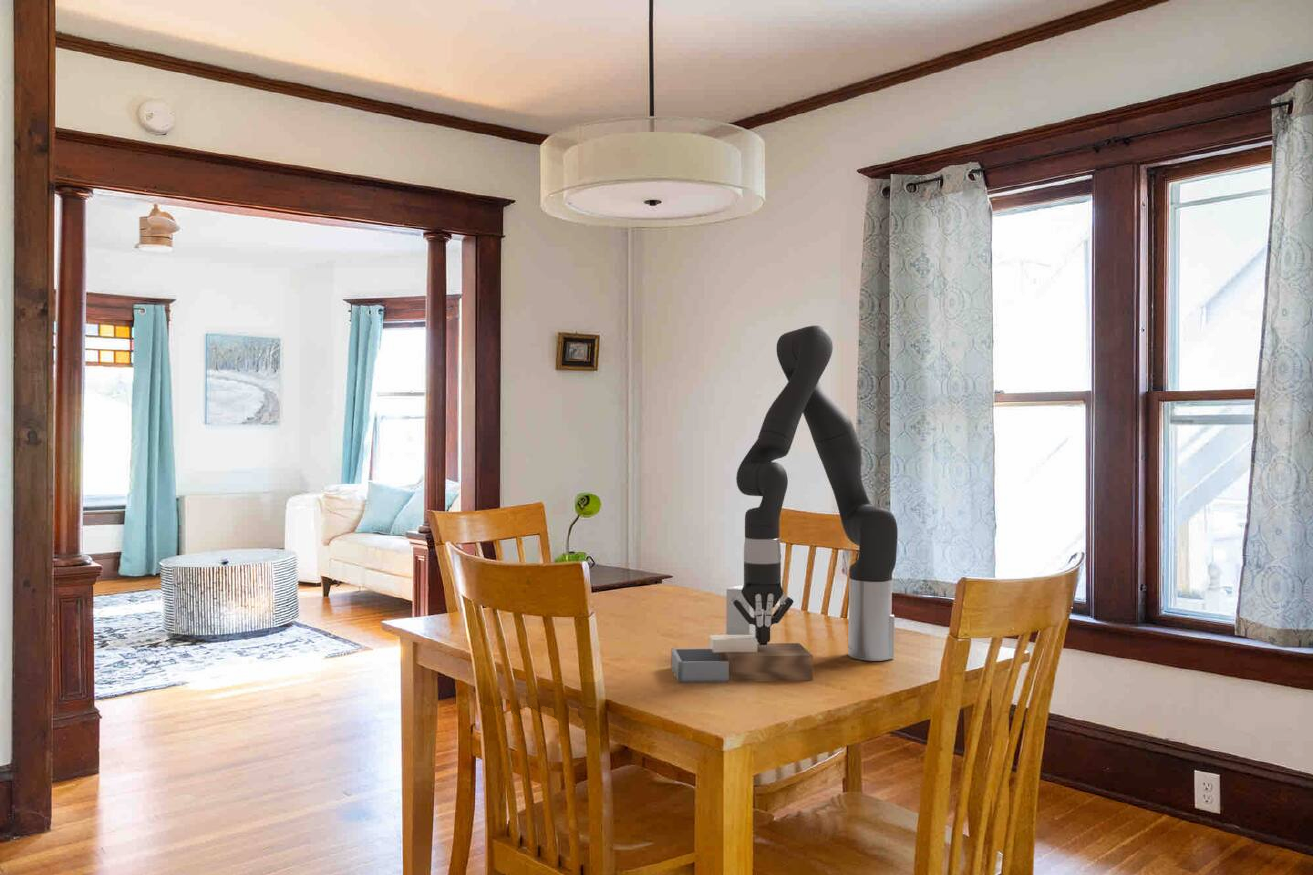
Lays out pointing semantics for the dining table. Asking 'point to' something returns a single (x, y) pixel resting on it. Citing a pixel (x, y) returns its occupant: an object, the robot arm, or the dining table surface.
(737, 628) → the skincare box
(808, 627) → the dining table surface
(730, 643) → the tile
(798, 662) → the brown wooden block
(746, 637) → the tile
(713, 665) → the tray
